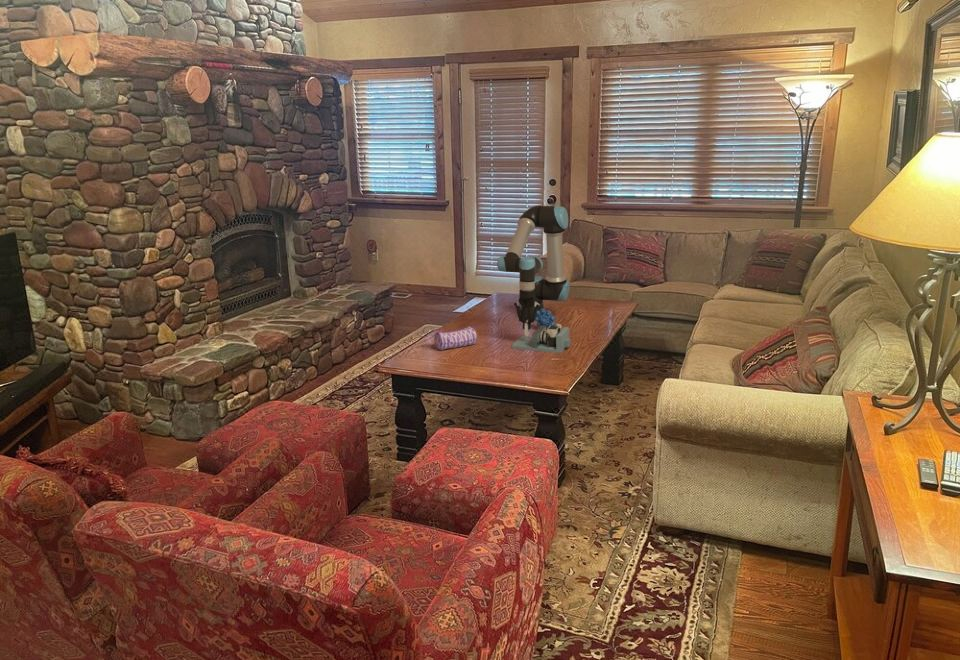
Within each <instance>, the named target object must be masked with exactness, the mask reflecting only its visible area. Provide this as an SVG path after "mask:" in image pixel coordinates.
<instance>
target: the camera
mask: <svg viewBox="0 0 960 660" xmlns="http://www.w3.org/2000/svg"><path fill="white" fill-rule="evenodd" d="M555 324H556V323H555ZM562 329H563V326H562V324H560V323H557V324H556V326H553V325H550V327H549V328H548V329H547V330H546V331H543V332H542V334H541V342H542V343H547V345H548V348H556V336H557V335H558V334H559V333H560V331H561V330H562Z"/></svg>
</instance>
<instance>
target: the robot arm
mask: <svg viewBox="0 0 960 660" xmlns="http://www.w3.org/2000/svg"><path fill="white" fill-rule="evenodd" d="M568 227H569V214H568V211H567V209H566V207H564V206H561V205H534V206H531V207H529V208H527V210H525V211H524V212H523V213H522V214H521V216H520V217H519V219H518V221H517V228H516V230H515V232H514V234H513V237H512V239H511V241H510V244H509V246H508V249H507V251H506V253H505V255H504V256H499V257H498V259H497V263H496V265H497V269H498V271H500V272H505V273H519V281H518V282H519V289H518V291H519V293H518V295H519V296H518V301H515V302H514V303H513V305H514V306H515V310H516V313H517V318H518V322H520V323H522V329H523V330H524V337H529V335H530V330H531V328H532V324H534V322H535V321H536V320H535V318H536V316H537V315H536V314H537V311H540V310H541V309H545V307H544V302H543V301H553V302H566V300H567V299H568V296H569V294H570V288H571V282H570V281H569V280H567V276H566V275H565V274H564V251H563V250H564V247H563V234H564V233H565V231H566V229H568ZM536 228H541V229H543V230H542V231H543V233H544V234H545V236H546V238H545V239H546V259H547V260H546V261H547V262H546V263H547V275H546V276H545V278H544V276H543V275H536V274H537V273H539V272H540V271H541V270H542V269H543V267H544V263H543V260H542V259H541V258H539V257H537V256H533V257H532V256H531V257H530V256H527V257H521V256H522V255H523V252H524V249H525V248H526V245H527V242H528V241H529V238H530V235H531V233H532V232H534V230H535V229H536Z"/></svg>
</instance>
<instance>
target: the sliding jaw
mask: <svg viewBox="0 0 960 660" xmlns="http://www.w3.org/2000/svg"><path fill="white" fill-rule="evenodd" d="M547 329H548V328H547V327H546V325H541V326H540V327H537V329H536V330H534V332H532V347H536V348H537V347H538V346H539V345H540V344H541V343H542V342H541V334H542V332H543V331H546V330H547Z"/></svg>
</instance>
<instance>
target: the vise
mask: <svg viewBox="0 0 960 660" xmlns="http://www.w3.org/2000/svg"><path fill="white" fill-rule="evenodd" d="M570 345H571V338H570V327H568V326H565V327H562V330H561V331H560V333H559V334H558V335H557V336H556V348H548V345H547V343H541V344H540V345H539V346H538V347H537V348H536V347H532V337H529V336H520V337H519V338H517V340H516V341H514V343H513V344H511V349H514V350H515V349H516V350H522V351H523V350H525V351H534V352H535V351H537V352H543V353H544V352H545V353H553V352H554V353H555V354H562V353H563V352H564V350H565V349H566V348H569V347H570Z"/></svg>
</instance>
